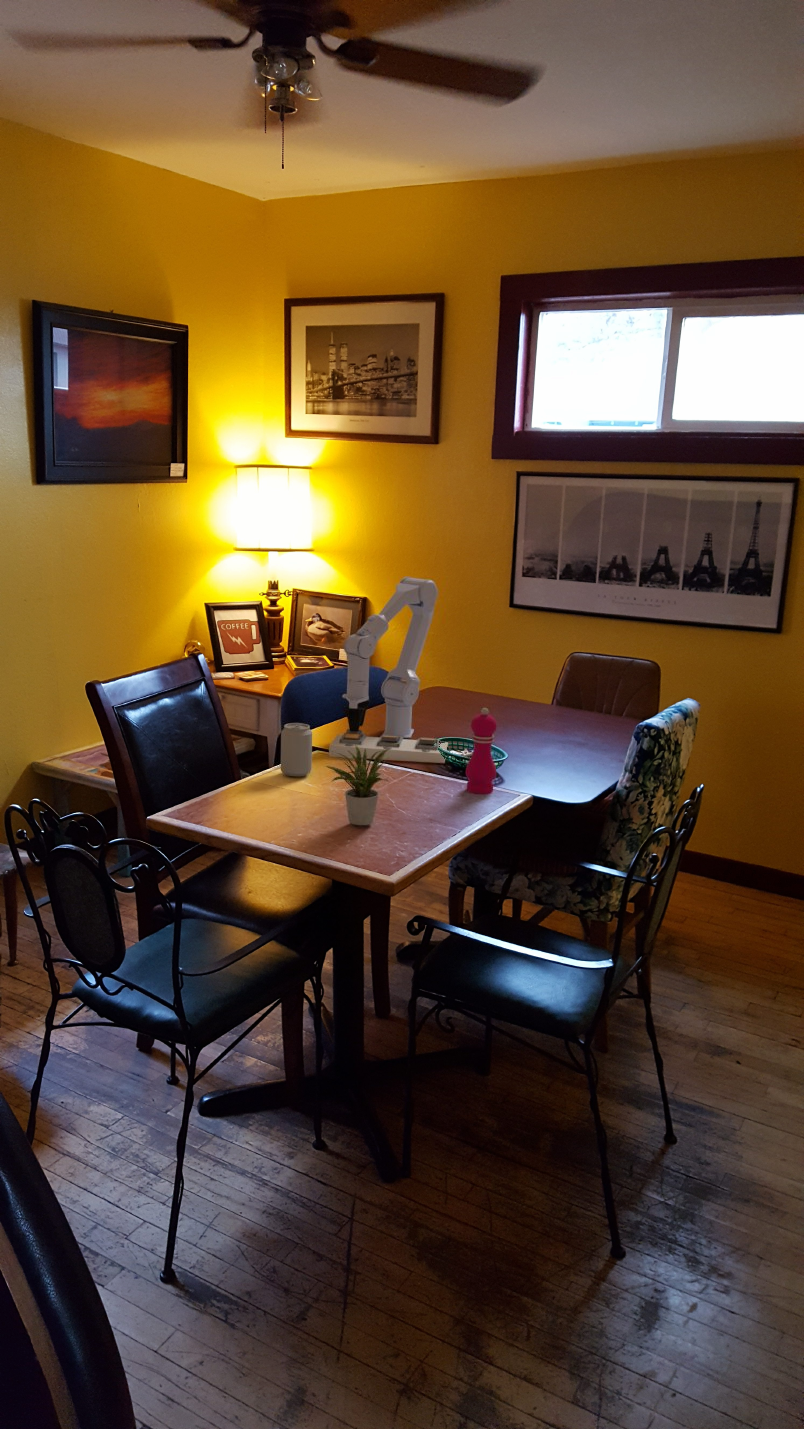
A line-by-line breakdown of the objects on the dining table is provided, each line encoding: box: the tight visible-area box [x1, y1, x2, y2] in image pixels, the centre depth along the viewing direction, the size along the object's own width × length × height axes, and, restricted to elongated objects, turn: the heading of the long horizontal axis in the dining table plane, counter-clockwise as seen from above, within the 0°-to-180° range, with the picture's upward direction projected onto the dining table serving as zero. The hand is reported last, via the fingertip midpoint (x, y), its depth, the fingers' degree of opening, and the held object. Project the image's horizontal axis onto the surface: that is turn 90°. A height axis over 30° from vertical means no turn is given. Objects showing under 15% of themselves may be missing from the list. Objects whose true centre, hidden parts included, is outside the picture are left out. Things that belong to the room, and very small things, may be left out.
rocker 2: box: [380, 735, 399, 742], centre depth 269 cm, size 6×4×1 cm, turn 173°
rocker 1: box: [344, 728, 363, 741], centre depth 270 cm, size 6×4×1 cm, turn 173°
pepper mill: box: [465, 707, 498, 795], centre depth 239 cm, size 7×7×20 cm
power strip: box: [328, 732, 449, 764], centre depth 268 cm, size 12×42×4 cm, turn 83°
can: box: [280, 722, 313, 777], centre depth 248 cm, size 8×8×12 cm
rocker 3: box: [419, 737, 437, 744], centre depth 268 cm, size 6×4×1 cm, turn 173°
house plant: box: [325, 745, 392, 826], centre depth 215 cm, size 14×14×16 cm
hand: (356, 729), depth 276 cm, fingers open, 7 cm apart
